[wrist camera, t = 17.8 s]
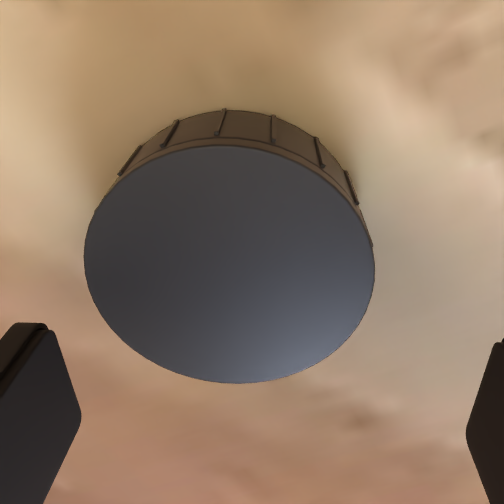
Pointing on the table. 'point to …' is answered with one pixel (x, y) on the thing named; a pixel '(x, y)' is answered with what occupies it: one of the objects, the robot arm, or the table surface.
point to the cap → (231, 250)
